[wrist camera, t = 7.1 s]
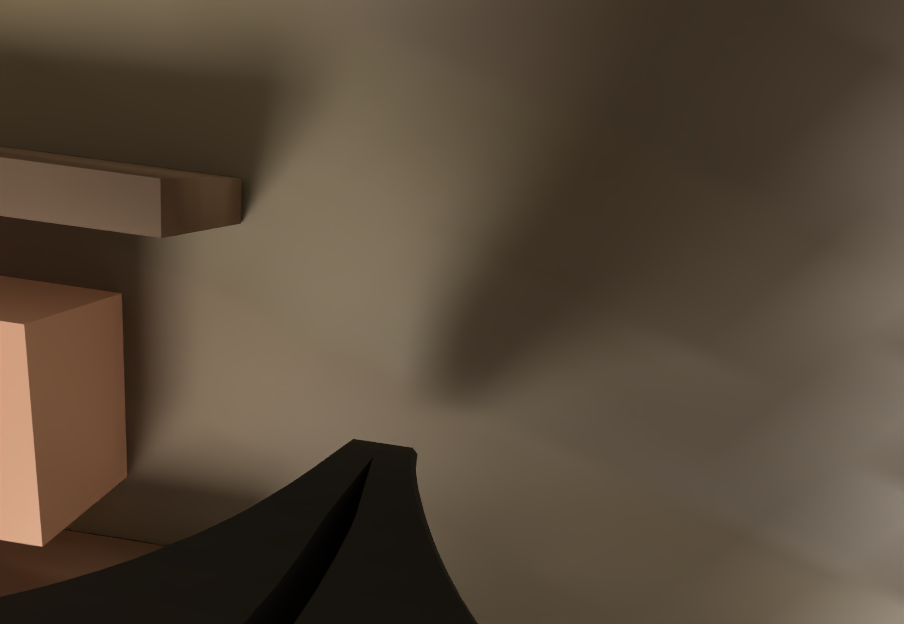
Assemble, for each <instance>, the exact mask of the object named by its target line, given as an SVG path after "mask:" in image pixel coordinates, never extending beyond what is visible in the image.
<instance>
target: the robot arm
mask: <svg viewBox="0 0 904 624" xmlns="http://www.w3.org/2000/svg"><path fill="white" fill-rule="evenodd" d="M416 462H417V453H416V452H415V450H414V449H413V448H410V447H403V446H397V445H390V444H383V443H376V442H370V441H363V440H356V439H353V440H351V441H350V442H348V443H347V444H346V445H344V446H343V447H341V448H340V449H339V450H337V451H336V452H334V453H333V454H332V455H330V456H329V457H328V458H326V459H325V460H323V461H322V462H321V463H319V464H318V465H317V466H315V467H314V468H312V469H311V470H309V471H308V472H307V473H305V474H304V475H302V476H301V477H299V478H298V479H296V480H295V481H293V482H292V483H290V484H289V485H287V486H285V487H284V488H282V489H281V490H279V491H277V492H276V493H274V494H272V495H271V496H269V497H267V498H266V499H264V500H263V501H261V502H259V503H258V504H256V505H254V506H252V507H251V508H249V509H247V510H245V511H243V512H241V513H239V514H237V515H236V516H234V517H232V518H230V519H228V520H225V521H223V522H221V523H219V524H217V525H215V526H213V527H211V528H209V529H207V530H205V531H202V532H200V533H198V534H196V535H193V536H191V537H188V538H186V539H183V540H181V541H178V542H176V543H173V544H171V545H168V546H166V547H163V548H161V549H158V550H156V551H153V552H150V553H148V554H145V555H143V556H140V557H137V558H135V559H132V560H129V561H126V562H123V563H120V564H117V565H114V566H111V567H108V568H105V569H102V570H99V571H95V572H92V573H89V574H85V575H82V576H79V577H75V578H72V579H69V580H65V581H62V582H58V583H54V584H51V585H47V586H43V587H39V588H35V589H31V590H27V591H23V592H18V593H14V594H10V595H6V596H2V597H0V624H478V623H477V622H476V620H475V619H474V617H473V616H472V614H471V613H470V611H469V609H468V608H467V606H466V605H465V603H464V602H463V600H462V599H461V597H460V595H459V593H458V591H457V589H456V588H455V586H454V584H453V582H452V580H451V578H450V576H449V574H448V572H447V570H446V568H445V566H444V564H443V562H442V560H441V557H440V555H439V553H438V550H437V548H436V545H435V543H434V540H433V538H432V535H431V532H430V529H429V526H428V524H427V520H426V517H425V514H424V510H423V506H422V502H421V498H420V494H419V490H418V485H417V477H416Z"/></svg>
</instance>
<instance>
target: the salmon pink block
mask: <svg viewBox="0 0 904 624" xmlns="http://www.w3.org/2000/svg"><path fill="white" fill-rule="evenodd" d="M126 477H127V451H126V418H125V385H124V352H123V319H122V293H116V292H109V291H102V290H95V289H88V288H82V287H75V286H68V285H61V284H54V283H48V282H41V281H34V280H27V279H20V278H13V277H7V276H0V540H4V541H10V542H16V543H22V544H28V545H35V546H41V547H43V546H44V545H45V544H46V543H48V542H49V541H50V540H51V539H53V538H54V537H55V536H56V535H57V534H59V533H60V532H61V531H62V530H63V529H65V528H66V527H67V526H68V525H69V524H71V523H72V522H73V521H74V520H75V519H77V518H78V517H79V516H80V515H82V514H83V513H84V512H85V511H86V510H88V509H89V508H90V507H91V506H92V505H94V504H95V503H96V502H97V501H98V500H100V499H101V498H102V497H103V496H104V495H106V494H107V493H108V492H109V491H111V490H112V489H113V488H114V487H115V486H117V485H118V484H119V483H120V482H121V481H123V480H124V479H125V478H126Z"/></svg>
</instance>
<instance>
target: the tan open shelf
mask: <svg viewBox="0 0 904 624" xmlns="http://www.w3.org/2000/svg"><path fill="white" fill-rule="evenodd" d="M241 201H242V178H236V177H228V176H221V175H213V174H206V173H198V172H190V171H183V170H175V169H168V168H160V167H153V166H145V165H138V164H130V163H122V162H115V161H107V160H100V159H92V158H85V157H77V156H70V155H62V154H55V153H47V152H39V151H32V150H24V149H17V148H9V147H2V146H0V216H5V217H12V218H20V219H27V220H34V221H41V222H49V223H56V224H63V225H70V226H78V227H85V228H92V229H99V230H107V231H114V232H121V233H128V234H136V235H143V236H150V237H157V238H164V237H169V236H175V235H180V234H186V233H191V232H197V231H202V230H208V229H213V228H219V227H224V226H230V225H235V224H240V223H241ZM163 547H166V546H162V545H155V544H149V543H143V542H137V541H130V540H124V539H118V538H112V537H106V536H99V535H93V534H87V533H81V532H74V531H68V530H62V531H61V532H60V533H59V534H57V535H56V536H55V537H54V538H53V539H51V540H50V541H49V542H48V543H46V544H45V545H44V546H43V547H41V546H35V545H28V544H22V543H16V542H10V541H4V540H0V597H2V596H6V595H10V594H14V593H18V592H23V591H27V590H31V589H35V588H39V587H43V586H47V585H51V584H54V583H58V582H62V581H65V580H69V579H72V578H75V577H79V576H82V575H85V574H89V573H92V572H95V571H99V570H102V569H105V568H108V567H111V566H114V565H117V564H120V563H123V562H126V561H129V560H132V559H135V558H137V557H140V556H143V555H145V554H148V553H150V552H153V551H156V550H158V549H161V548H163Z"/></svg>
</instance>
